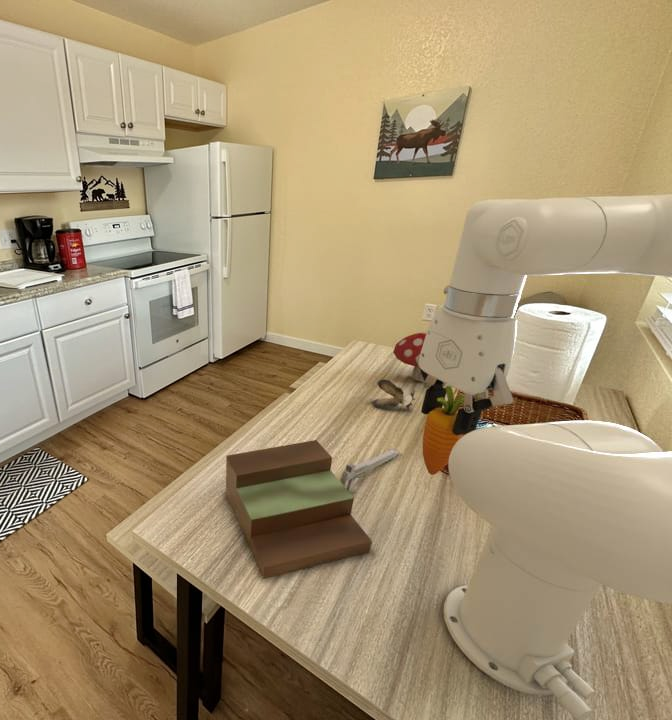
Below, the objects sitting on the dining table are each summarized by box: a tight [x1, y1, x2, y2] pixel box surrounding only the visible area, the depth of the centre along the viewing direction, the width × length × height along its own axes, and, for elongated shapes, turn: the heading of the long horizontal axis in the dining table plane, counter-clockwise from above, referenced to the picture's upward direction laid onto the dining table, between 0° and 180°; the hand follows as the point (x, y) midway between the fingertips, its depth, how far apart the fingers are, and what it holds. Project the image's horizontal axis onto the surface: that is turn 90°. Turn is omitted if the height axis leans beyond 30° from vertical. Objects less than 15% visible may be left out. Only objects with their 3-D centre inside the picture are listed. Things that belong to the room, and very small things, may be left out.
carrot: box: [422, 385, 464, 476], centre depth 58 cm, size 5×5×15 cm
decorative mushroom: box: [392, 332, 427, 383], centre depth 110 cm, size 16×16×15 cm
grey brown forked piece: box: [371, 378, 416, 411], centre depth 99 cm, size 8×7×9 cm
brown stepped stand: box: [225, 439, 373, 579], centre depth 65 cm, size 18×18×9 cm
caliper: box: [339, 449, 400, 492], centre depth 76 cm, size 20×1×6 cm, turn 127°
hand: (446, 421), depth 57 cm, fingers closed on carrot, 5 cm apart
